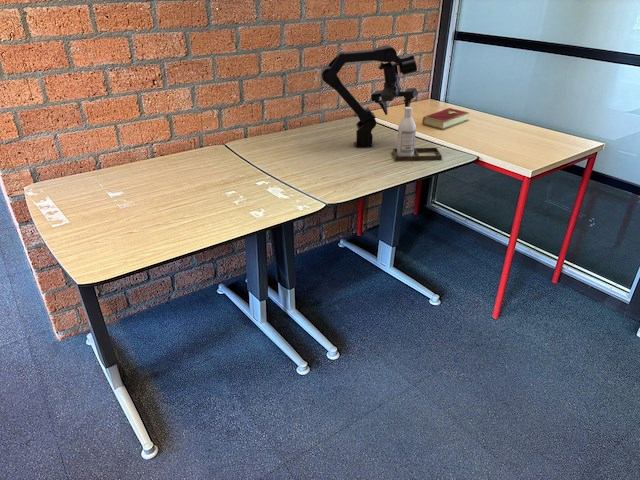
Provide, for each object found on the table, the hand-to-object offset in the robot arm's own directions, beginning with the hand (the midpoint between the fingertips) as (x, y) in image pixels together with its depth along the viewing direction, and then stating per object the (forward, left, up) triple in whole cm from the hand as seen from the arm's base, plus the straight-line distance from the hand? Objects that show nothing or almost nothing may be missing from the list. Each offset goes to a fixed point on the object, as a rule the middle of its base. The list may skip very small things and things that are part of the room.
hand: (396, 114), depth 208 cm
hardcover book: (+29, +28, -13) cm, 43 cm away
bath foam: (+2, -15, -13) cm, 20 cm away
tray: (+7, -16, -13) cm, 21 cm away
